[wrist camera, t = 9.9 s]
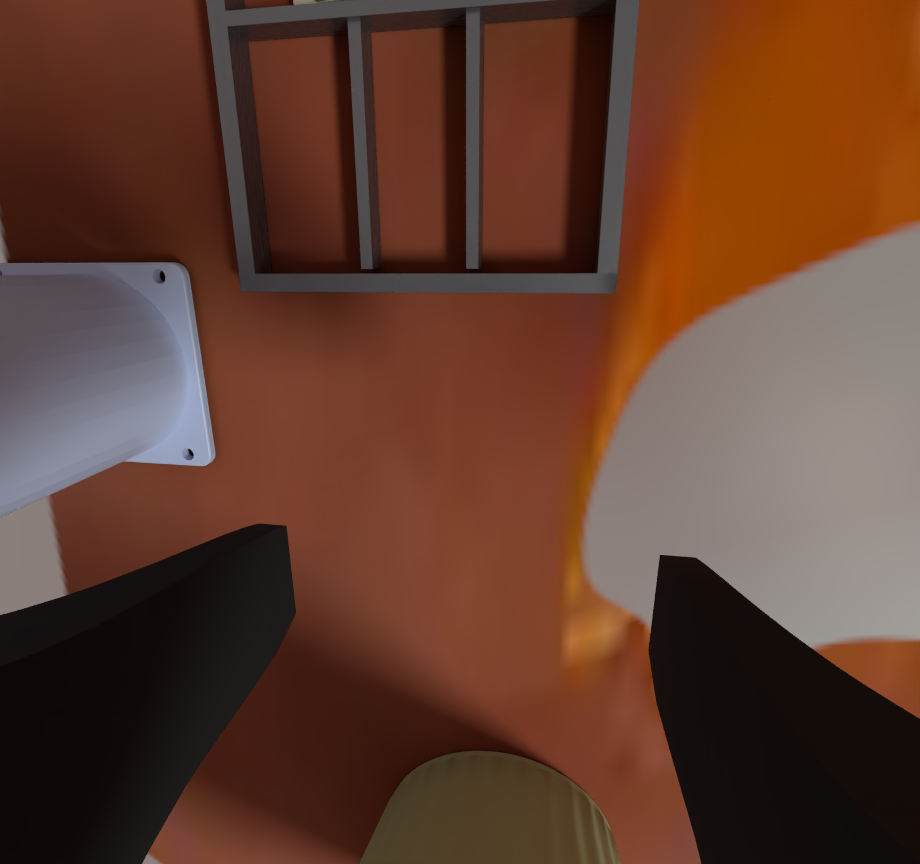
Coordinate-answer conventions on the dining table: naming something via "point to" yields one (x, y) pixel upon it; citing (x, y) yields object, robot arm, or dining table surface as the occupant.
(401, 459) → the dining table surface
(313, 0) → the offcut stack
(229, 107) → the metal rack
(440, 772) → the potted cactus
